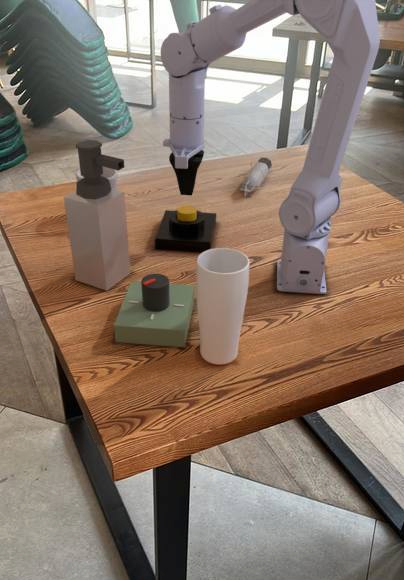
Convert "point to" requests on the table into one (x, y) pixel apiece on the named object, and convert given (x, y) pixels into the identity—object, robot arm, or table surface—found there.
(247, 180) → the clear plastic bottle
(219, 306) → the drinking glass
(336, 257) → the table surface
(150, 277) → the dial
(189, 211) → the button
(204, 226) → the button block
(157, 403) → the table surface
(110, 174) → the cup
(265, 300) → the table surface
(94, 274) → the soap dispenser
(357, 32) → the robot arm
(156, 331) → the dial panel
